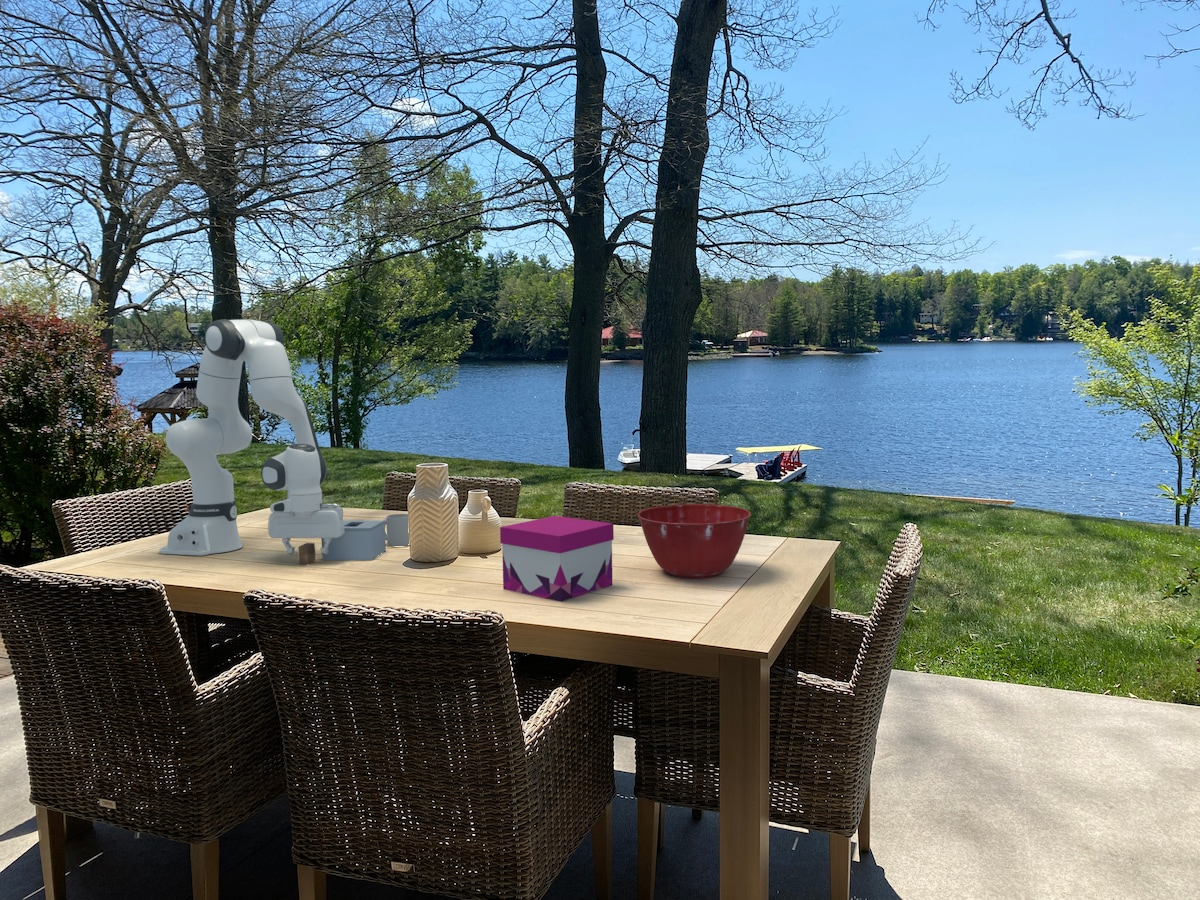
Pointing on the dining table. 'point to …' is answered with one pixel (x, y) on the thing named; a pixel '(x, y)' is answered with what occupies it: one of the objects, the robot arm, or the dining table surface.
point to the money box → (358, 541)
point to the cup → (397, 530)
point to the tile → (306, 553)
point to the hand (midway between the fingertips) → (307, 553)
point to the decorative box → (557, 557)
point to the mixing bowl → (694, 537)
